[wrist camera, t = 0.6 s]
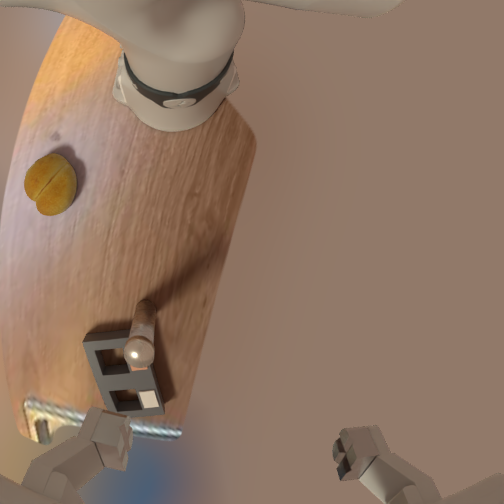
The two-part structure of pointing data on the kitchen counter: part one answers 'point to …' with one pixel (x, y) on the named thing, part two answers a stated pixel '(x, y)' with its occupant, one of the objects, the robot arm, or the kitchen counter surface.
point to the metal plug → (141, 336)
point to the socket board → (123, 377)
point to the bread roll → (51, 184)
